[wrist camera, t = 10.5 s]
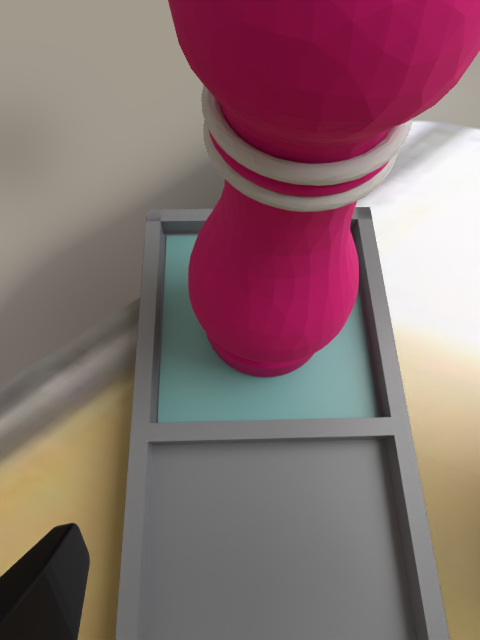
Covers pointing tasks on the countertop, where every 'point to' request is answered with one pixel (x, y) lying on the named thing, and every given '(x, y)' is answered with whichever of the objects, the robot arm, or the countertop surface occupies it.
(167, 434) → the sorting tray
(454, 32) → the pepper mill
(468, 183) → the countertop surface
